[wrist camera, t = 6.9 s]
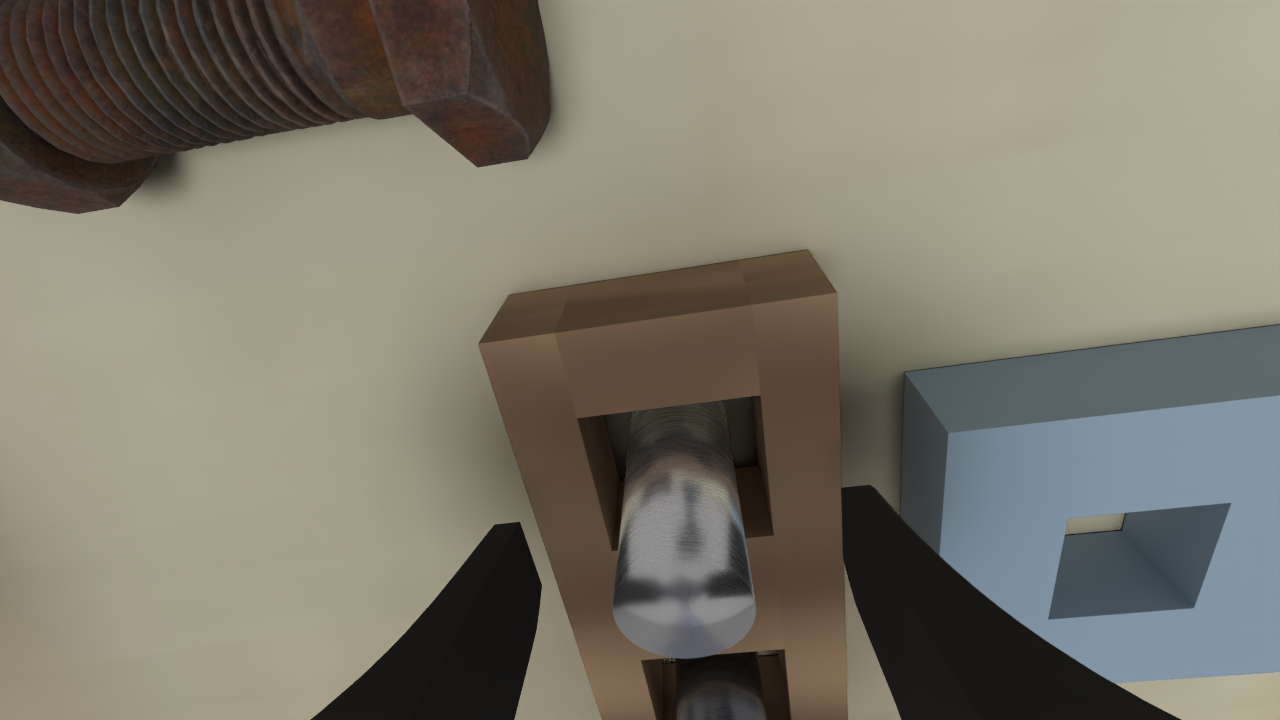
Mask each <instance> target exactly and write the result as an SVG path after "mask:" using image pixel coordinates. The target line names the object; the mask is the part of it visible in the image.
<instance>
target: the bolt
mask: <svg viewBox="0 0 1280 720" xmlns="http://www.w3.org/2000/svg"><path fill="white" fill-rule="evenodd" d="M410 114H414V115H415V116H416V117H417V118H419V119H420V120H421V121H422V122H423V123H425V124H426V125H427V126H428V127H429V128H430V129H432V130H433V131H434V132H435V133H436V134H438V135H439V136H440V137H441V138H443V139H444V140H445V141H446V142H447V143H449V144H450V145H451V146H452V147H454V148H455V149H456V150H457V151H458V152H460V153H461V154H462V155H463V156H464V157H466V158H467V159H468V160H469V161H471V162H472V163H473V164H474V165H475V166H477V167H483V166H489V165H495V164H501V163H507V162H512V161H518V160H524V159H528V158H529V156H530V154H531V153H532V151H533V150H534V148H535V147H536V145H537V144H538V142H539V141H540V139H541V137H542V135H543V133H544V131H545V129H546V127H547V125H548V122H549V117H550V91H549V72H548V59H547V51H546V43H545V35H544V30H543V25H542V21H541V16H540V11H539V6H538V0H0V200H2V201H7V202H12V203H16V204H21V205H26V206H31V207H36V208H42V209H48V210H55V211H62V212H69V213H76V214H80V213H86V212H92V211H97V210H103V209H109V208H115V207H119V206H120V205H121V204H123V203H124V202H125V201H126V200H127V199H128V198H129V197H130V196H131V195H132V194H133V193H134V192H135V191H136V190H137V189H138V188H139V187H140V186H141V184H142V183H143V182H144V180H145V179H146V178H147V177H148V175H149V174H150V173H151V172H152V170H153V169H154V168H155V166H156V164H157V161H158V159H159V157H160V155H164V154H170V153H175V152H179V151H187V150H191V149H194V148H197V149H198V148H202V147H204V146H214V145H217V144H219V143H230V142H233V141H236V140H239V141H240V140H245V139H249V138H252V137H254V136H264V135H267V134H273V133H279V132H285V131H291V130H295V129H305V128H309V127H317V126H321V125H324V124H325V125H329V124H333V123H335V122H337V121H338V122H345V121H349V120H353V119H361V118H366V117H371V118H374V119H388V118H393V117H399V116H404V115H410Z"/></svg>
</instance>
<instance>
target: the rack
mask: <svg viewBox="0 0 1280 720" xmlns="http://www.w3.org/2000/svg"><path fill="white" fill-rule="evenodd" d="M478 345H479V348H480V351H481V354H482V357H483V360H484V363H485V366H486V369H487V373H488V376H489V379H490V382H491V385H492V388H493V391H494V394H495V397H496V400H497V403H498V406H499V409H500V412H501V415H502V418H503V421H504V424H505V427H506V430H507V433H508V436H509V439H510V442H511V445H512V448H513V451H514V454H515V457H516V460H517V463H518V466H519V469H520V472H521V475H522V478H523V481H524V485H525V488H526V491H527V494H528V497H529V500H530V503H531V506H532V509H533V512H534V515H535V518H536V521H537V524H538V527H539V530H540V533H541V536H542V539H543V542H544V545H545V548H546V551H547V554H548V557H549V560H550V563H551V566H552V569H553V572H554V575H555V578H556V581H557V584H558V587H559V590H560V594H561V597H562V600H563V603H564V606H565V609H566V612H567V615H568V618H569V621H570V624H571V627H572V630H573V633H574V636H575V639H576V642H577V645H578V648H579V651H580V654H581V657H582V660H583V663H584V666H585V669H586V672H587V675H588V678H589V681H590V684H591V687H592V690H593V693H594V696H595V699H596V703H597V706H598V709H599V712H600V715H601V718H602V720H676V663H668V664H663V661H662V659H663V658H671V657H665V656H661V655H657V654H654V653H651V652H648V651H646V650H644V649H642V648H640V647H638V646H637V645H635V644H634V643H632V642H631V641H630V640H629V639H627V638H626V637H625V635H624V634H623V633H622V632H621V631H620V629H619V628H618V626H617V624H616V622H615V619H614V616H613V599H614V589H615V579H616V568H617V558H618V548H619V538H620V528H621V517H622V507H623V497H624V487H625V481H620V480H619V476H618V472H617V468H616V463H615V459H614V455H613V451H612V447H611V442H610V438H609V434H608V430H607V426H606V421H605V417H604V415H607V414H615V413H623V412H631V411H639V410H647V409H655V408H663V407H671V406H679V405H687V404H695V403H703V402H711V401H719V400H727V399H735V398H743V397H751V396H752V404H753V414H754V424H755V433H756V443H757V453H758V462H759V466H751V467H742V468H734V469H735V475H736V482H737V488H738V495H739V501H740V508H741V514H742V520H743V527H744V533H745V540H746V546H747V553H748V559H749V565H750V572H751V578H752V585H753V591H754V598H755V604H756V616H755V620H754V623H753V625H752V627H751V629H750V630H749V632H748V633H747V634H746V635H745V637H744V638H743V639H742V640H740V641H739V642H738V643H737V644H735V645H734V646H732V647H730V648H729V649H727V650H725V651H722V652H720V653H717V654H728V653H741V652H755V651H768V650H778V655H774V656H761V657H758V662H759V669H760V675H761V682H762V689H763V696H764V703H765V710H766V717H767V720H848V705H847V666H846V626H845V586H844V560H843V544H842V507H841V488H842V467H841V428H840V388H839V349H838V309H837V292H836V290H835V289H834V287H833V286H832V284H831V283H830V281H829V280H828V279H827V277H826V276H825V274H824V273H823V271H822V270H821V268H820V267H819V265H818V264H817V262H816V261H815V259H814V258H813V256H812V255H811V253H810V252H809V250H803V251H797V252H790V253H784V254H777V255H770V256H764V257H757V258H751V259H744V260H737V261H731V262H724V263H718V264H711V265H704V266H698V267H691V268H685V269H678V270H671V271H665V272H658V273H652V274H645V275H638V276H632V277H625V278H619V279H612V280H605V281H599V282H592V283H586V284H579V285H572V286H566V287H559V288H553V289H546V290H539V291H533V292H526V293H520V294H513V295H509V296H508V297H507V299H506V300H505V302H504V304H503V305H502V307H501V308H500V310H499V311H498V313H497V315H496V316H495V318H494V319H493V321H492V323H491V324H490V326H489V327H488V329H487V331H486V332H485V334H484V335H483V337H482V339H481V340H480V342H479V343H478ZM714 655H715V654H714Z"/></svg>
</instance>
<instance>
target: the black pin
mask: <svg viewBox="0 0 1280 720" xmlns="http://www.w3.org/2000/svg"><path fill="white" fill-rule="evenodd" d="M676 720H767V717H766V710H765V703H764V696H763V689H762V682H761V675H760V669H759V662H758V655H757V651H755V652H741V653H728V654H715V655H710V656H706V657H700V658H690V659H681V658H676Z"/></svg>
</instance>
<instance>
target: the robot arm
mask: <svg viewBox="0 0 1280 720" xmlns="http://www.w3.org/2000/svg"><path fill="white" fill-rule="evenodd" d="M841 507H842V544H843V560H844V564H845V567H846V571H847V575H848V578H849V582H850V586H851V589H852V593H853V596H854V600H855V603H856V606H857V608H858V611H859V613H860V616H861V618H862V621H863V623H864V626H865V628H866V631H867V633H868V636H869V639H870V641H871V643H872V646H873V648H874V651H875V653H876V656H877V658H878V661H879V663H880V666H881V668H882V671H883V673H884V676H885V678H886V681H887V683H888V686H889V688H890V691H891V693H892V696H893V698H894V701H895V703H896V706H897V709H898V711H899V714H900V717H901V720H1181V719H1179V718H1177V717H1175V716H1173V715H1171V714H1169V713H1167V712H1165V711H1163V710H1161V709H1159V708H1157V707H1155V706H1153V705H1151V704H1150V703H1148V702H1146V701H1144V700H1142V699H1141V698H1139V697H1137V696H1135V695H1134V694H1132V693H1130V692H1128V691H1127V690H1125V689H1123V688H1121V687H1120V686H1118V685H1116V684H1114V683H1113V682H1111V681H1109V680H1107V679H1106V678H1104V677H1102V676H1101V675H1099V674H1097V673H1096V672H1094V671H1092V670H1091V669H1089V668H1088V667H1086V666H1085V665H1083V664H1081V663H1080V662H1078V661H1077V660H1075V659H1074V658H1072V657H1071V656H1069V655H1067V654H1066V653H1064V652H1063V651H1061V650H1060V649H1058V648H1056V647H1055V646H1053V645H1052V644H1050V643H1049V642H1047V641H1046V640H1044V639H1043V638H1041V637H1040V636H1039V635H1037V634H1036V633H1034V632H1033V631H1032V630H1030V629H1029V628H1027V627H1026V626H1024V625H1023V624H1022V623H1020V622H1019V621H1018V620H1016V619H1015V618H1014V617H1012V616H1011V615H1010V614H1008V613H1007V612H1006V611H1004V610H1003V609H1002V608H1000V607H999V606H998V605H997V604H995V603H994V602H993V601H992V600H990V599H989V598H988V597H987V596H985V595H984V594H983V593H982V592H980V591H979V590H978V589H977V588H976V587H974V586H973V585H972V584H971V583H970V582H969V581H967V580H966V579H965V578H964V577H963V576H962V575H961V574H959V573H958V572H957V571H956V570H955V569H954V568H953V567H952V566H950V565H949V564H948V563H947V562H946V561H945V560H944V559H943V558H942V557H941V556H940V555H939V554H937V553H936V552H935V551H934V550H933V549H932V548H931V547H930V546H929V545H928V544H927V543H926V542H925V541H924V540H923V539H922V538H921V537H920V536H919V535H918V534H917V533H916V532H915V531H914V530H913V529H912V528H911V527H910V526H909V525H908V524H907V523H906V522H905V521H904V520H903V519H902V518H901V517H900V516H899V515H898V513H897V512H896V511H895V510H894V509H893V508H892V507H891V506H890V505H889V504H888V503H887V501H886V500H885V499H884V498H883V497H882V496H881V495H880V494H879V492H878V491H877V490H876V489H875V488H874V487H872V486H871V485H864V486H855V487H845V488H841ZM541 589H542V584H541V582H540V579H539V576H538V573H537V570H536V567H535V564H534V561H533V558H532V556H531V553H530V550H529V547H528V544H527V541H526V538H525V535H524V532H523V530H522V527H521V524H520V522H515V523H506V524H496V525H494V526H493V527H492V529H491V530H490V531H489V532H488V533H487V535H486V536H485V537H484V538H483V540H482V541H481V542H480V544H479V545H478V546H477V547H476V549H475V550H474V551H473V552H472V554H471V555H470V556H469V558H468V559H467V560H466V561H465V563H464V564H463V565H462V566H461V568H460V569H459V570H458V572H457V573H456V574H455V575H454V577H453V578H452V579H451V580H450V581H449V583H448V584H447V585H446V586H445V588H444V589H443V590H442V591H441V592H440V594H439V595H438V596H437V597H436V599H435V600H434V601H433V602H432V603H431V604H430V606H429V607H428V608H427V609H426V610H425V611H424V612H423V613H422V615H421V616H420V617H419V618H418V619H417V620H416V621H415V622H414V624H413V625H412V626H411V627H410V628H409V629H408V630H407V632H406V633H405V634H404V635H403V636H402V637H401V638H400V639H399V640H398V641H397V642H396V643H395V644H394V645H393V646H392V647H391V648H390V649H389V650H388V651H387V652H386V653H385V654H384V655H383V656H382V657H381V658H380V659H379V660H378V661H377V662H376V663H375V664H374V665H373V666H372V667H371V668H370V669H369V670H368V671H367V672H365V673H364V674H363V675H362V676H361V677H360V678H359V679H358V680H357V681H355V682H354V683H353V684H352V685H351V686H350V687H349V688H347V689H346V690H345V691H344V692H343V693H342V694H340V695H339V696H338V697H337V698H336V699H335V700H334V701H332V702H331V703H330V704H329V705H328V706H327V707H325V708H324V709H323V710H322V711H321V712H320V713H318V714H317V715H316V716H315V717H313V718H312V719H311V720H514V718H515V715H516V711H517V707H518V703H519V699H520V695H521V691H522V687H523V683H524V679H525V675H526V671H527V667H528V663H529V659H530V655H531V651H532V646H533V642H534V638H535V634H536V630H537V622H538V615H539V607H540V598H541Z"/></svg>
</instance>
